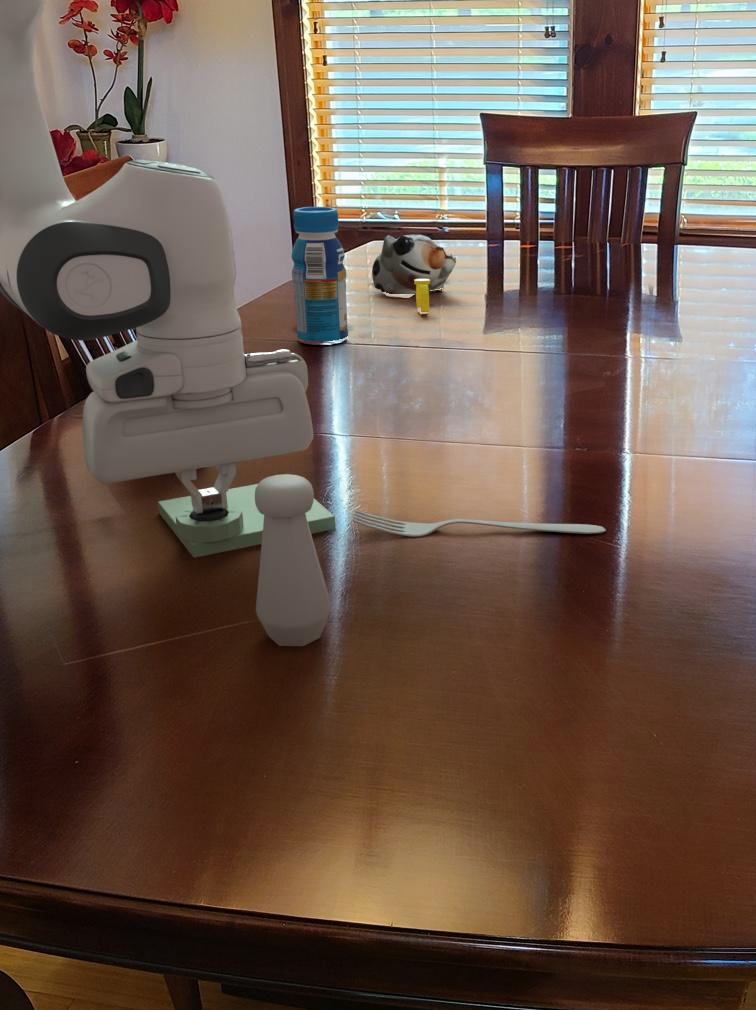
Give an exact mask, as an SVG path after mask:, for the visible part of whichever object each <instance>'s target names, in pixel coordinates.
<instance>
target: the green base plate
mask: <svg viewBox="0 0 756 1010" xmlns="http://www.w3.org/2000/svg"><path fill="white" fill-rule="evenodd" d="M258 484H259V483H255V484H249V485H244V486H239V487H233V488H229V489H228V491H227V492H226V494H227V504H228V508H227V509H225V513H226V517H224V518H222V519H220V520H215V521H196V520H193V515H192V510H193V507H192V501H191V495H187V496H182V497H176V498H171V499H165V500H159V501H157V504H158V510H159V511H158V513H159V515H160V516H161V518H162V519H163V520H164V522H165V523H166V525H168V527H169V528H170V529H171V530H172V531H173V533H174V535H175V536H176V537H177V539H178V540H179V541H180V543H182V545H183V546H184V547H185V548H186V550H187V551H188V553H189V554H190V555H191V556H192V557H193V558H198V557H204V556H210V555H213V554H219V553H223V552H228V551H233V550H238V549H244V548H249V547H253V546H258V545H262V534H263V523H264V515H263V514H261V513H260V512H259V511H258V509H257V507H256V504H255V488H256V487H257V485H258ZM305 514H306V518H307V521H308V525H309V528H310V532H311V535H312V534H313V535H314V534H317V533H322V532H327V531H332V530H336V516H335V515H334V514H333V513H332V512H331V511H329V510H328V509H327V508H326V507H325V506H324V505H322V504H321V502H319V501H318V500H317V499H315V498H314V502H313V505H312V508H311V510H310V511H308V512H306V513H305Z"/></svg>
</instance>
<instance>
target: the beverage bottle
mask: <svg viewBox="0 0 756 1010" xmlns="http://www.w3.org/2000/svg"><path fill="white" fill-rule="evenodd" d="M293 227H294V228H293V229H294V230H295V234H298V237H297V238H296V240H295V243H294V244H293V247H292V251H291V256H290V257H291V260H292V262H293V267H292V269H291V278H292V282H293V294H294V295H293V296H294V307H295V320H296V338H297V337H298V338H299V339H301V340H305V341H333V340H339V339H343V338H345V337H347V336H348V337H349V328H348V308H347V307H348V306H347V303H348V302H347V281H346V280H347V269H346V267H345V265H344V260H345V256H346V255H345V249H344V248H343V246H342V244H341V242H340V240H339V238H338V237H337V236H336V233H338V231H339V213H338V209H337V208H335V207H329V206H305V207H298V208H295V209H294V210H293Z"/></svg>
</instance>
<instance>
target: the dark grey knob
mask: <svg viewBox="0 0 756 1010" xmlns="http://www.w3.org/2000/svg"><path fill="white" fill-rule="evenodd" d="M192 515H193V520H196V521H215V520H220V519H222V518H224V517H226V513H225V509H222V510H216V511H210V512H205V513H201V514H196V512H195V511H194V510H192Z"/></svg>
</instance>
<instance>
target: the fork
mask: <svg viewBox="0 0 756 1010" xmlns="http://www.w3.org/2000/svg"><path fill="white" fill-rule="evenodd" d="M351 521H352V522H353V523H355V524H358V525H361V526H364V527H366V528H370V529H374V530H378V531H380V532H383V533H388V534H393V535H397V536H403V537H409V538H410V537H411V538H420V537H425V536H427V535H431V534H432V533H433V532H435V531H438V530H439V529H441V528H444V527H446V526H449V525H454V524H469V525H477V526H478V525H479V526H480V525H481V526H487V527H494V528H495V527H496V528H503V529H504V528H505V529H515V530H524V531H537V532H548V533H549V532H552V533H563V534H564V533H565V534H581V535H583V534H584V535H597V534H603V533H605V532H606V531H607V529H606V528H605V527H603V526H600V525H595V524H588V523H587V524H586V523H585V524H583V523H582V524H581V523H538V522H537V523H536V522H510V521H508V522H507V521H496V520H495V521H494V520H481V519H470V518H468V519H467V518H453V519H447V520H442V521H438V522H433V523H432V522H431V523H428V522H427V523H424V522H411V521H403V520H395V519H390V518H387V517H382V516H378V515H374V514H370V513H367V512H363V511H361V510H357V509H356V510H355V511H354V513H353V516H352V520H351Z"/></svg>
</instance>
